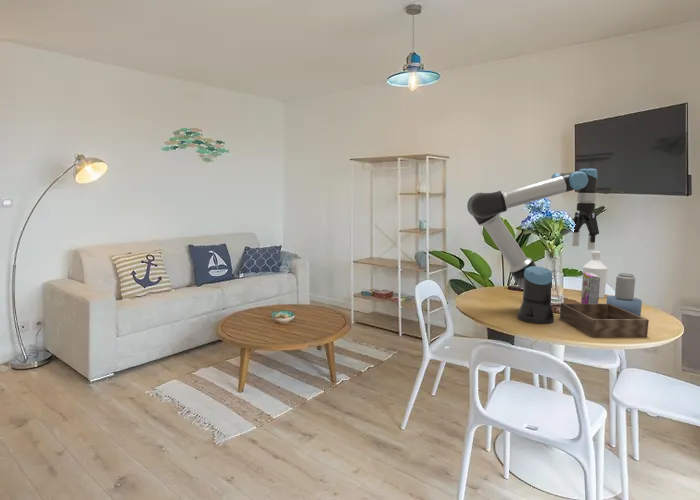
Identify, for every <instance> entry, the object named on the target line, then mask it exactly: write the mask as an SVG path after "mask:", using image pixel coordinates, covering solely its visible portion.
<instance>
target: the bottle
mask: <svg viewBox="0 0 700 500" xmlns="http://www.w3.org/2000/svg"><path fill="white" fill-rule="evenodd" d="M601 254H602V252H601V251H598V250H591V259H590V260H589V261H588V262H587V263H585V264H584V265H583V267H582V274H583V273H594V274H595V275H597V276H599V277H600V283H599V298H598V299H600V298H601V299H602V298H605V295H606V287H607V286H606V284H607V273H608V267H607V266H606V265H605V264H604V263H603V262H602V261H601ZM581 279H582V282H583V278H581Z"/></svg>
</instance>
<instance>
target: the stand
mask: <svg viewBox="0 0 700 500" xmlns="http://www.w3.org/2000/svg"><path fill="white" fill-rule="evenodd" d="M605 304H612V305H614V306H616V307H619V308H621V309H624V310H626V311H628V312H631V313H633V314H635V315H638V316H640V317H642V316H641V314H642V304H643V301H642V299H640V298H636V297H634V298H633V299H632V300H620V299H617V298H616V297H615V295H608V296H606V302H605Z"/></svg>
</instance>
